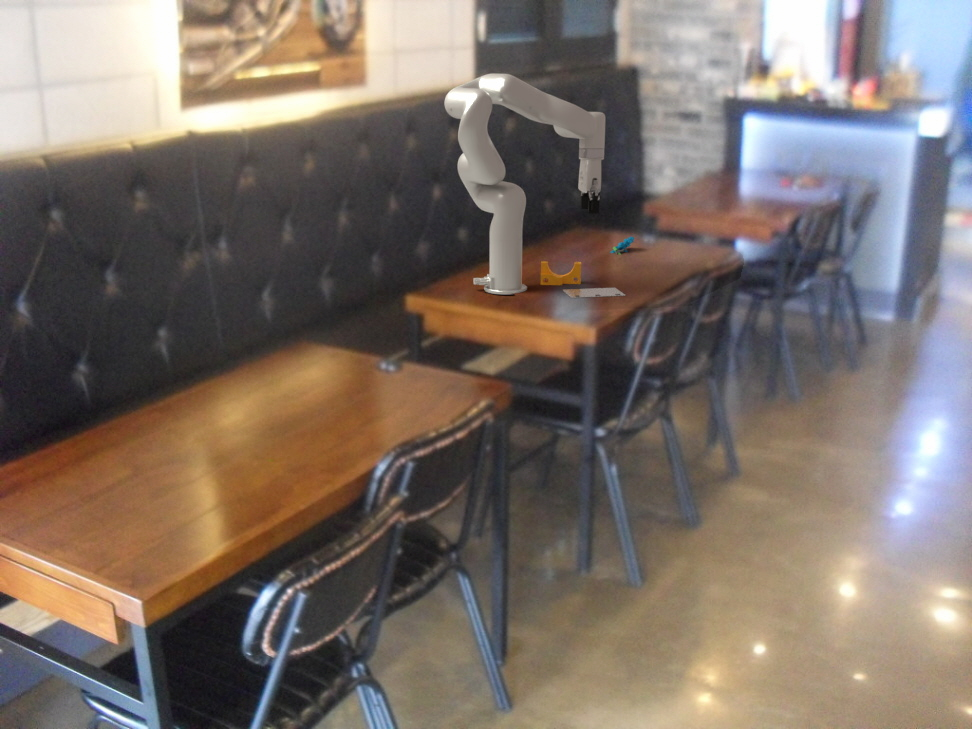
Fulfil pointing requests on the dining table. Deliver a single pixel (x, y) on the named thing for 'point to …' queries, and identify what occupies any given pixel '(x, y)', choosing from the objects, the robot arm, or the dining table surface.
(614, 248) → the gear
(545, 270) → the pipe clamp
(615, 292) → the door panel
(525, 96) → the robot arm
